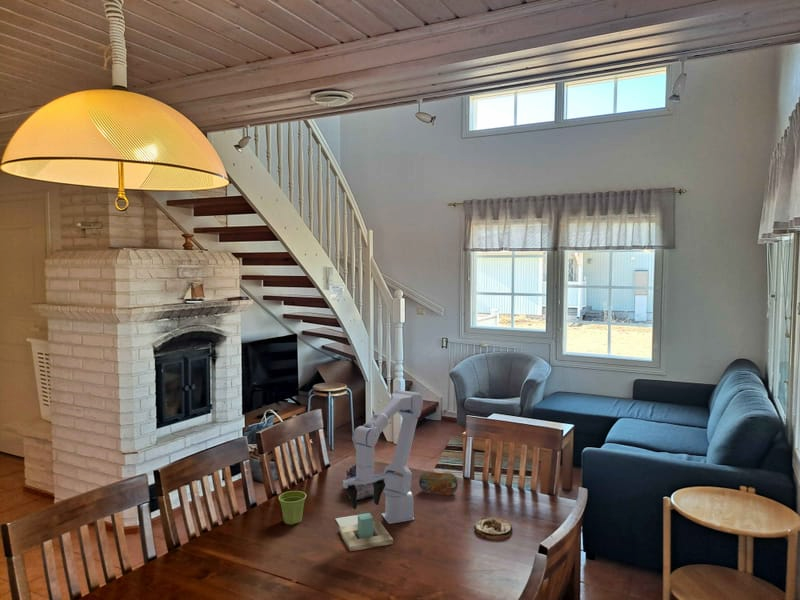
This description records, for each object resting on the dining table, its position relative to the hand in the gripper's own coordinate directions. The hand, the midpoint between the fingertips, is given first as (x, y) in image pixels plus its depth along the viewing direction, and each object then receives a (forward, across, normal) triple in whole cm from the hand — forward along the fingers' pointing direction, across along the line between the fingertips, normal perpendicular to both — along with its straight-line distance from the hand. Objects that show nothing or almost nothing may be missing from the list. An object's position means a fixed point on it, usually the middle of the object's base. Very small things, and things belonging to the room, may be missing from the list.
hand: (365, 505), depth 179 cm
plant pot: (+11, +18, -22) cm, 30 cm away
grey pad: (+10, +1, -12) cm, 16 cm away
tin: (+11, -39, -21) cm, 46 cm away
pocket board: (+10, 0, 0) cm, 10 cm away
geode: (+11, -12, -36) cm, 39 cm away
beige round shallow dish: (+11, -40, +14) cm, 44 cm away
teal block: (+10, 0, 0) cm, 10 cm away
